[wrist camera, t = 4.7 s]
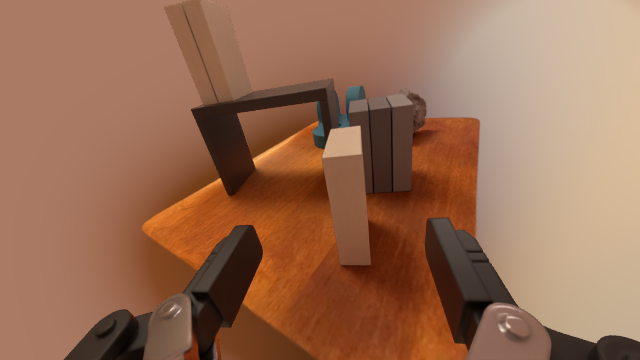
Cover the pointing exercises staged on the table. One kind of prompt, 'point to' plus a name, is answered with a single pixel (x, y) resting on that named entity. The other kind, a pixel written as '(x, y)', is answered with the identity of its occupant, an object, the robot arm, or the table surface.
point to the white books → (210, 50)
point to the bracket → (343, 119)
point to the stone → (416, 108)
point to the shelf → (228, 135)
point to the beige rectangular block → (347, 194)
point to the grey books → (385, 141)
